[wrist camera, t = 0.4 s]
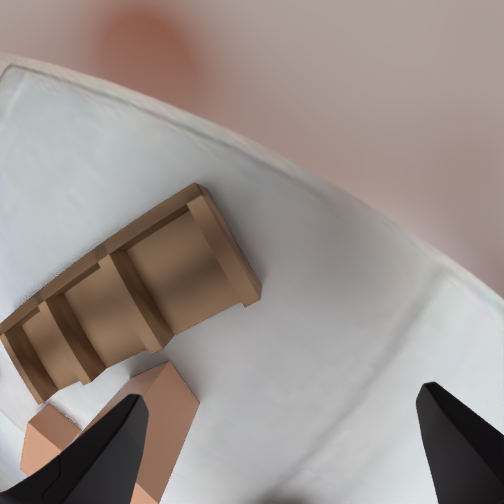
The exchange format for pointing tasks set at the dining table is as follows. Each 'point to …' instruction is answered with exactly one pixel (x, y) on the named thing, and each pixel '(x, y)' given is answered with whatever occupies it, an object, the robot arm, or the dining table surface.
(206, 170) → the dining table surface
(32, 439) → the clay bar
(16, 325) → the tray
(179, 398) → the clay bar
